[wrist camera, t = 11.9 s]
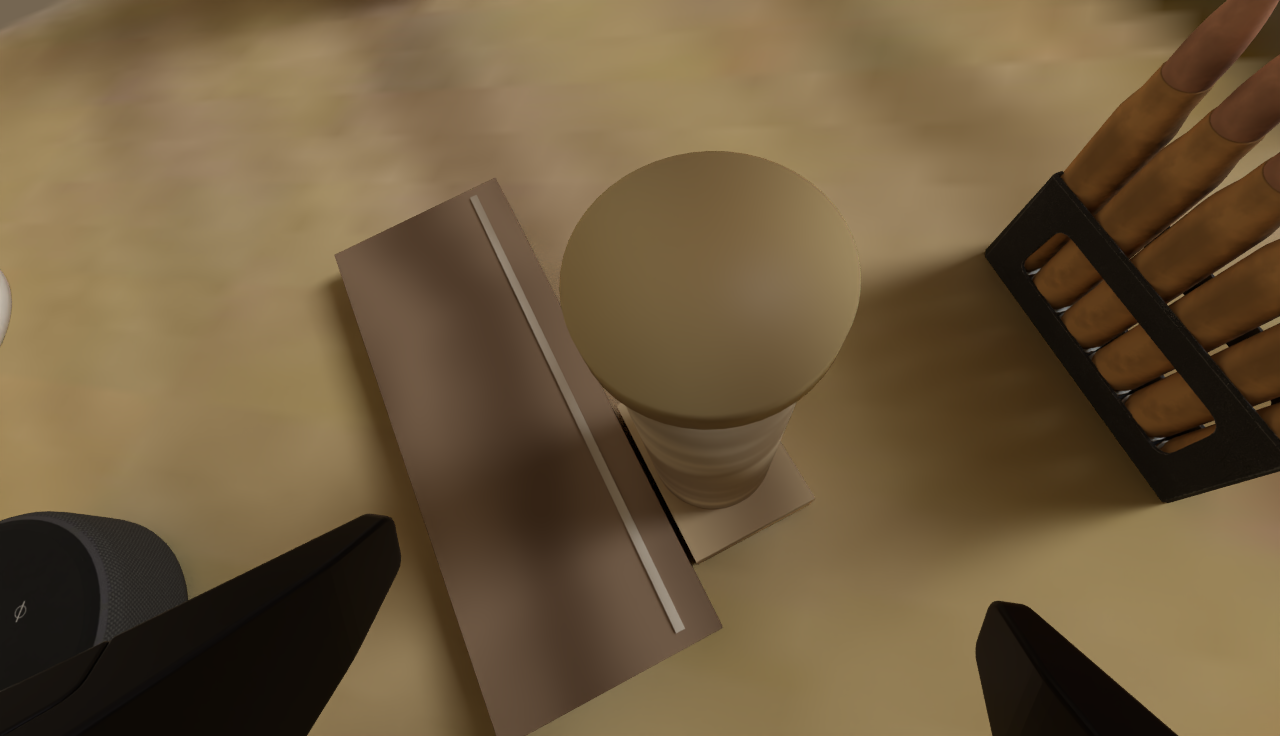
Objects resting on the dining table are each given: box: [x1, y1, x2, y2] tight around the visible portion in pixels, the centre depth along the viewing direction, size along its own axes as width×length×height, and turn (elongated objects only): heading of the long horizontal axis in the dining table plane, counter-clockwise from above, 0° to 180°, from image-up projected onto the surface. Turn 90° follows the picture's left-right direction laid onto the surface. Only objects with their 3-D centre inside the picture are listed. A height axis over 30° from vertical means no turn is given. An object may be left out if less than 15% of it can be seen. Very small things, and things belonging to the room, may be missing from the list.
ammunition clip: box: [985, 0, 1280, 503], centre depth 16 cm, size 11×2×12 cm, turn 21°
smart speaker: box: [0, 511, 188, 691], centre depth 21 cm, size 9×9×4 cm
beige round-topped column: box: [559, 151, 861, 564], centre depth 15 cm, size 5×6×14 cm
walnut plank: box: [335, 178, 723, 736], centre depth 23 cm, size 8×20×2 cm, turn 27°
